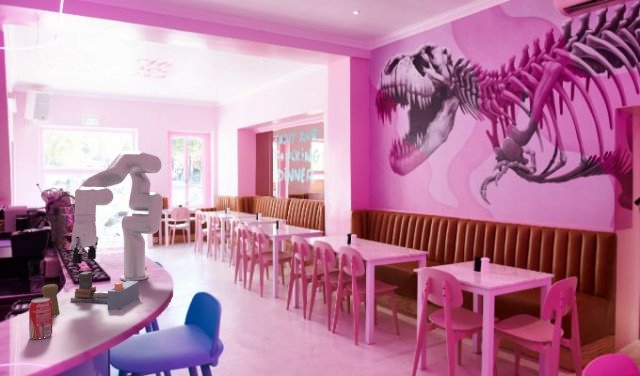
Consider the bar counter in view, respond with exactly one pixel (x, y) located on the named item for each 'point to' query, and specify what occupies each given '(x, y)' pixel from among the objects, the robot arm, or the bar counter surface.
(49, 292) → the cork
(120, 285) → the button
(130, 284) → the cabinet
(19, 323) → the bar counter surface
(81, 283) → the carriage
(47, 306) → the beverage can
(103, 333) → the bar counter surface
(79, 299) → the rail
